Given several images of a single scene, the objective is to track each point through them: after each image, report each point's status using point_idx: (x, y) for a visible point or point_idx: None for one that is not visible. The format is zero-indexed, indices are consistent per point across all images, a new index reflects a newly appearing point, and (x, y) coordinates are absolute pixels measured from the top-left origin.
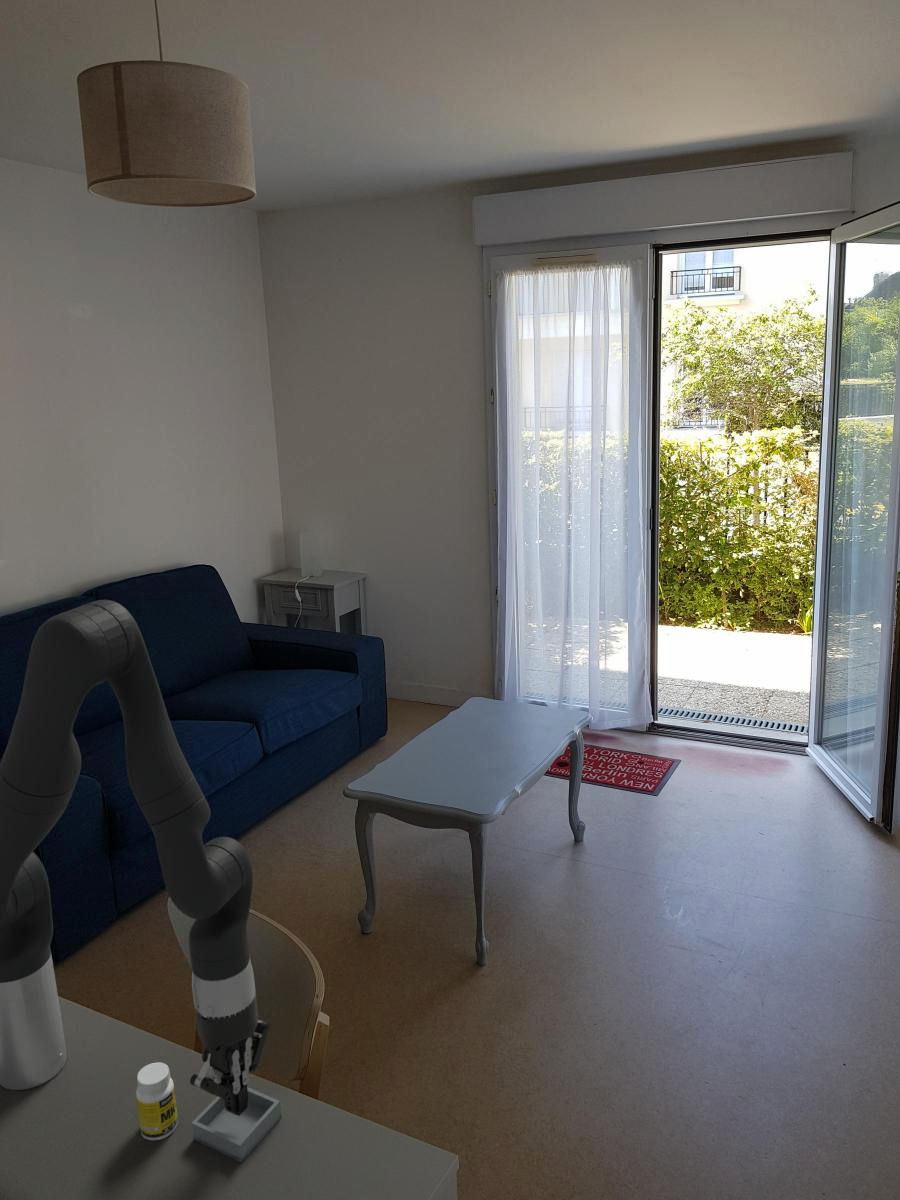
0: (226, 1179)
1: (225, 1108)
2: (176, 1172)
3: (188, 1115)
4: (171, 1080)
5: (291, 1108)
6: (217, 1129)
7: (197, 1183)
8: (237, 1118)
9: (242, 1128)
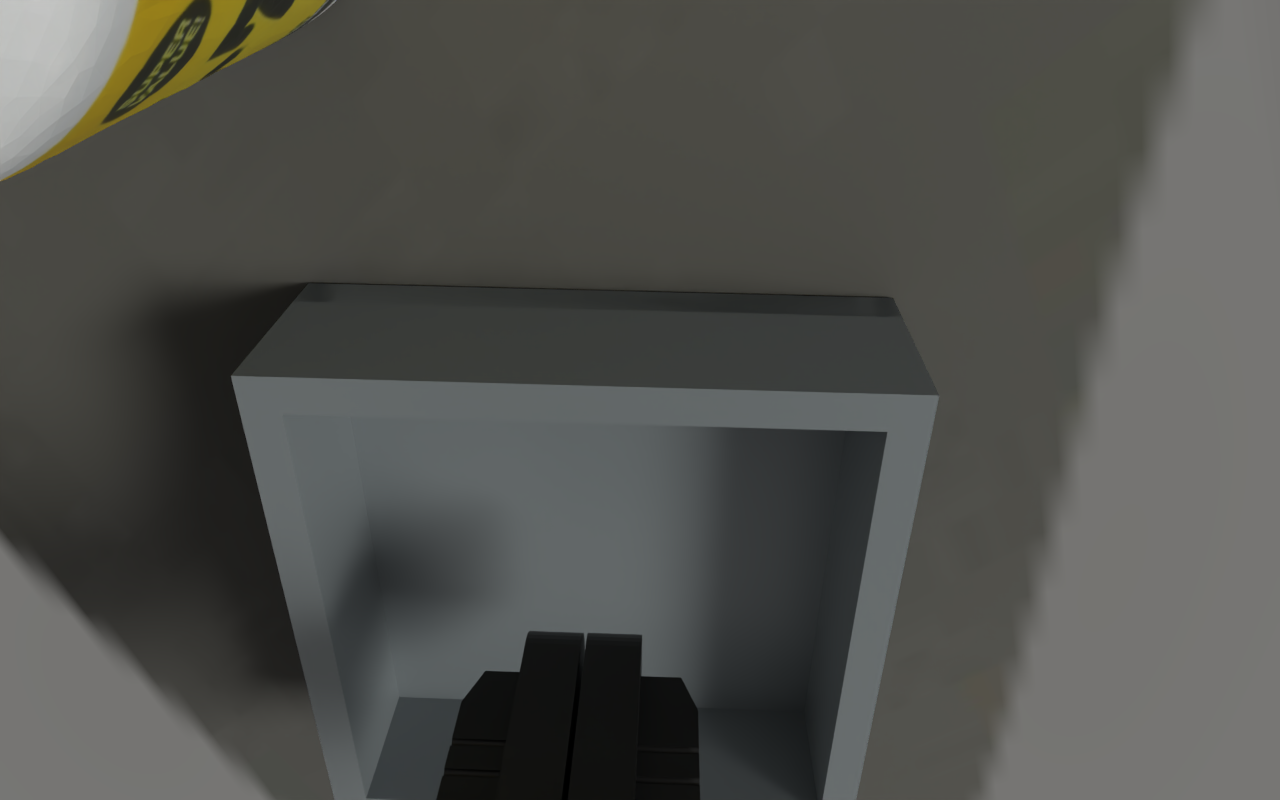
0: (235, 678)
1: (461, 703)
2: (13, 375)
3: (492, 20)
4: (30, 56)
5: (926, 714)
6: (470, 446)
7: (80, 556)
8: (650, 513)
9: (586, 594)
